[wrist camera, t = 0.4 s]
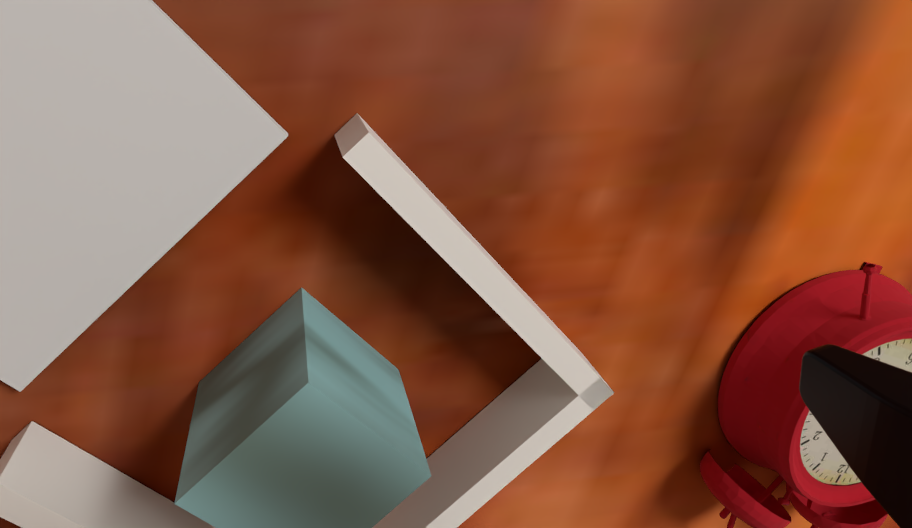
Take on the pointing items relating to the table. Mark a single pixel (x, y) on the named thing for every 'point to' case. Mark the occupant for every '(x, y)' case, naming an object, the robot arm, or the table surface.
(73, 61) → the grey mat
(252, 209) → the table surface
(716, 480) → the alarm clock
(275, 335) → the teal block
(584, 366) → the white u-shaped frame
